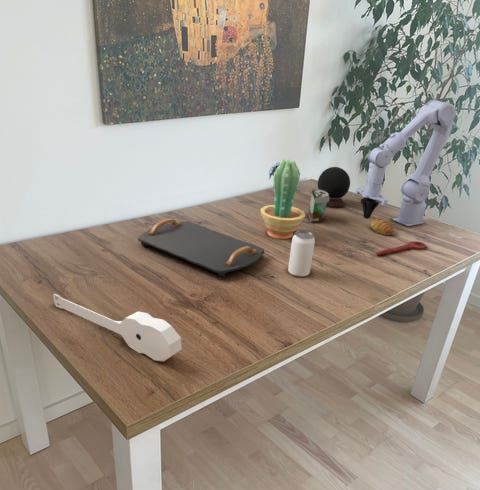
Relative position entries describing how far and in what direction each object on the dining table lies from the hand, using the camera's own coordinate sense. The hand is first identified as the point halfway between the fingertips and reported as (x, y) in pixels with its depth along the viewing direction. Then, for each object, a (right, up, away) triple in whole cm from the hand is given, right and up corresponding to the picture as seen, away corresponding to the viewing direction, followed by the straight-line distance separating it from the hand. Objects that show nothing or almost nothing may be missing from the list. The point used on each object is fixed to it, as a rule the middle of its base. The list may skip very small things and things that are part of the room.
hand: (366, 217), depth 183 cm
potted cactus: (-34, -9, -15) cm, 38 cm away
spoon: (+6, -15, -20) cm, 26 cm away
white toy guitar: (-77, -39, -74) cm, 113 cm away
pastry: (+4, -6, -5) cm, 9 cm away
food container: (-18, 0, +1) cm, 18 cm away
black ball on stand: (-10, +9, +20) cm, 24 cm away
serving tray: (-60, -17, -33) cm, 71 cm away
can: (-31, -24, -41) cm, 56 cm away
